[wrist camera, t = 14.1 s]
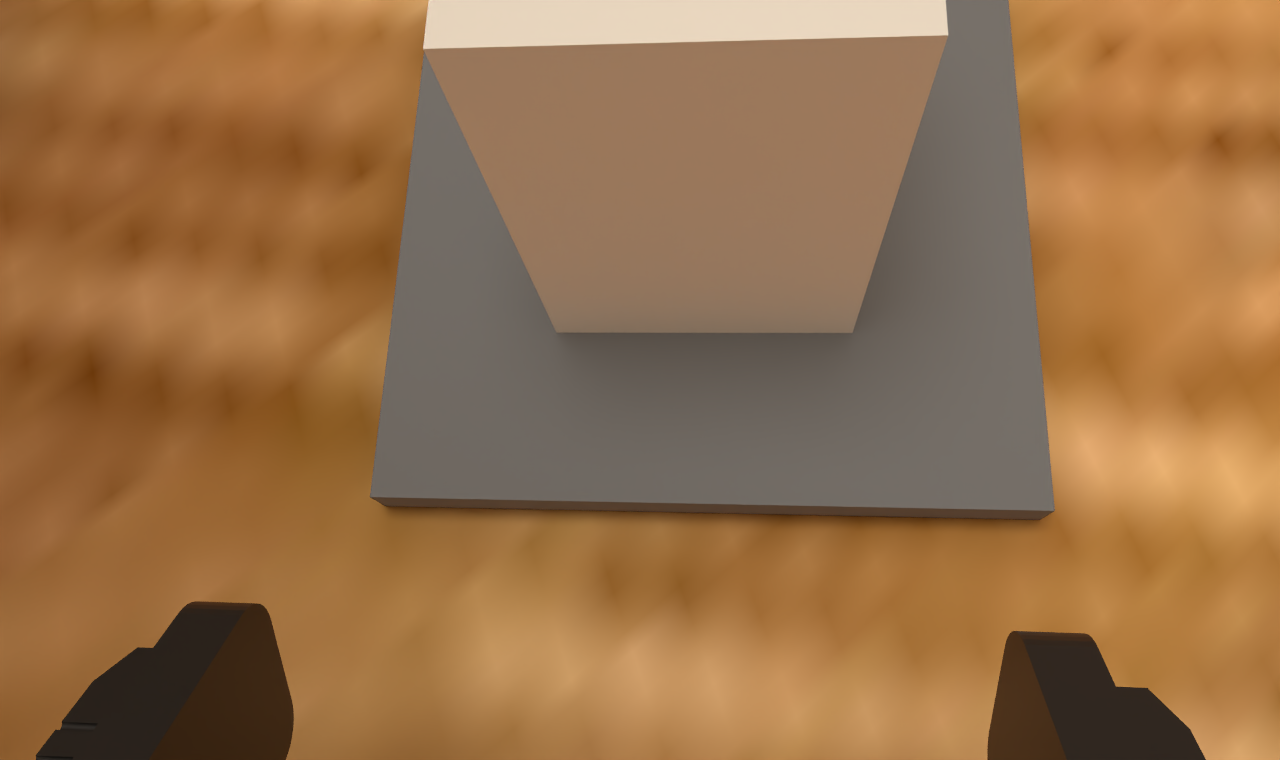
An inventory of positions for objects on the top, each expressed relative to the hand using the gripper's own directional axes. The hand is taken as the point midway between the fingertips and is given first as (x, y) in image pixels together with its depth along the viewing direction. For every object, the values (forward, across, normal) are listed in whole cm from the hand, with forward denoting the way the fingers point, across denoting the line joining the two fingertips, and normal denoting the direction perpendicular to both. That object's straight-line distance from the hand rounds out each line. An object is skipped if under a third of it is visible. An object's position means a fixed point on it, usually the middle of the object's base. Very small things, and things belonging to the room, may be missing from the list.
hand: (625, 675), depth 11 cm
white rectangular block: (+14, 0, -1) cm, 14 cm away
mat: (+15, -1, 0) cm, 15 cm away
